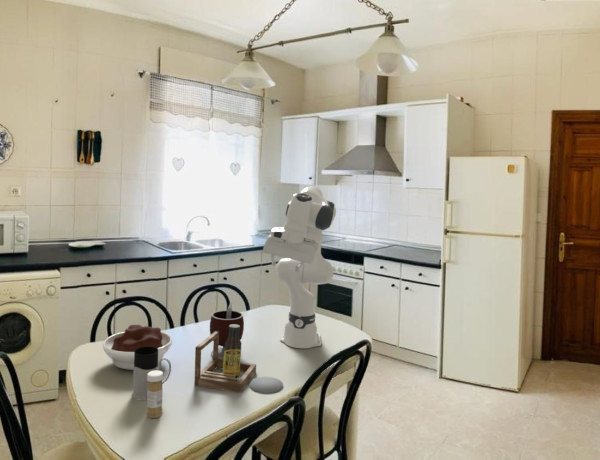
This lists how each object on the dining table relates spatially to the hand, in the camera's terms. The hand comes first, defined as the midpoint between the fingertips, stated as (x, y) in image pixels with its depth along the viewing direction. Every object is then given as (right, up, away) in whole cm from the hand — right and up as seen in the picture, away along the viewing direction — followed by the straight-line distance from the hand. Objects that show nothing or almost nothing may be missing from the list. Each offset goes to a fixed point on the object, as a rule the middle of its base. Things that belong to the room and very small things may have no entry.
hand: (284, 268), depth 180 cm
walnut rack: (-21, -40, -12) cm, 46 cm away
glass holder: (-43, -40, -28) cm, 65 cm away
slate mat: (-6, -41, -16) cm, 44 cm away
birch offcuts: (-22, -40, -17) cm, 49 cm away
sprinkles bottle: (-39, -42, -40) cm, 69 cm away
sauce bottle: (-19, -40, -11) cm, 46 cm away
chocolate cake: (-57, -37, -4) cm, 68 cm away
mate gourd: (-25, -37, +11) cm, 46 cm away
